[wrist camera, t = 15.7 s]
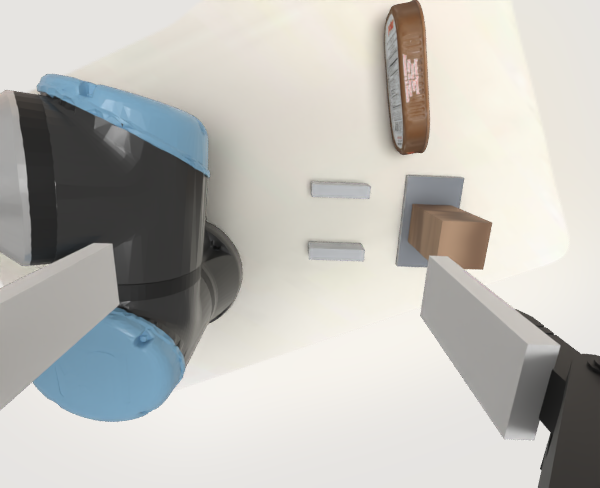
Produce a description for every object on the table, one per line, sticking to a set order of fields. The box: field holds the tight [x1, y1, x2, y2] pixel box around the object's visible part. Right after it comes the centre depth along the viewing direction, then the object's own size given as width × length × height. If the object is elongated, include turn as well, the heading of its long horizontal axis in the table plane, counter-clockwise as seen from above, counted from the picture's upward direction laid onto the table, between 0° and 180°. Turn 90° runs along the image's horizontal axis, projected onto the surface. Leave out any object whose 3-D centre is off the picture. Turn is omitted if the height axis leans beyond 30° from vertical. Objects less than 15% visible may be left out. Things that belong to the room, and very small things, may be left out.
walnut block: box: [408, 204, 492, 270], centre depth 41 cm, size 5×5×10 cm
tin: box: [384, 0, 430, 155], centre depth 38 cm, size 15×3×8 cm, turn 9°
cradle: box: [308, 181, 371, 261], centre depth 45 cm, size 7×10×3 cm
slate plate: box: [396, 175, 464, 267], centre depth 46 cm, size 7×12×1 cm, turn 178°
